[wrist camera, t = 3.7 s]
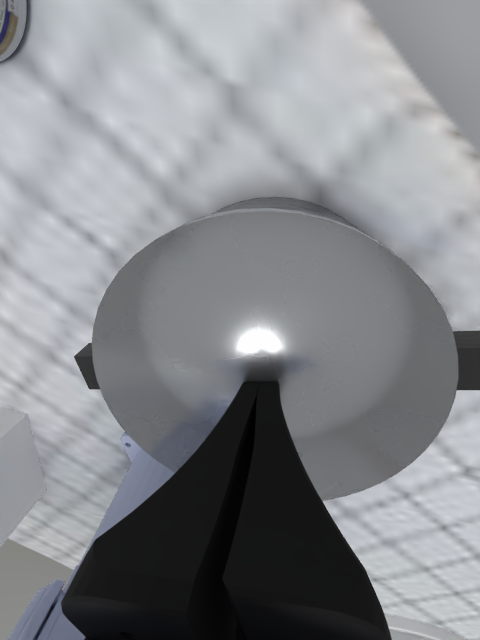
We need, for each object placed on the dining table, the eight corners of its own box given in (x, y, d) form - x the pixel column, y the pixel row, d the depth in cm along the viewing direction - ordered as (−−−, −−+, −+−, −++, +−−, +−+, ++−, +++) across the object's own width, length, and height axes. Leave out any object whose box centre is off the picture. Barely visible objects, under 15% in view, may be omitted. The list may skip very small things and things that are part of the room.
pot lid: (416, 501, 14) (433, 549, 12) (153, 483, 17) (137, 520, 15) (492, 179, 8) (551, 183, 6) (49, 231, 10) (0, 245, 9)
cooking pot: (415, 418, 19) (461, 512, 14) (162, 413, 23) (124, 487, 17) (464, 172, 13) (584, 180, 7) (96, 218, 16) (4, 245, 11)
